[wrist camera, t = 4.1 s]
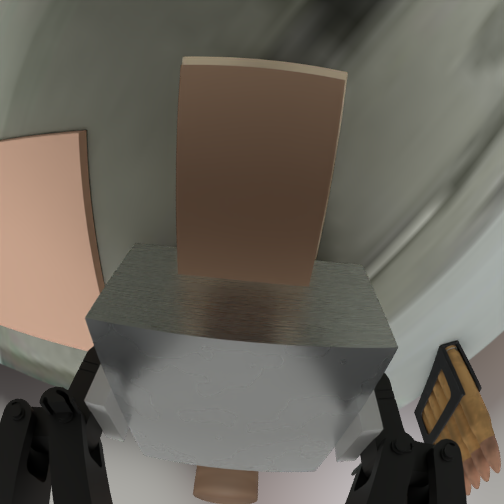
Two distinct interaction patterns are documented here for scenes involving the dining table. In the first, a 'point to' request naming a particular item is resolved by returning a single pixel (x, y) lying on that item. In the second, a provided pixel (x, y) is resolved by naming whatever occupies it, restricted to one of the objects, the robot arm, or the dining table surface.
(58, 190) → the mat
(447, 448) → the robot arm
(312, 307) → the brushed metal block
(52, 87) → the dining table surface
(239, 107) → the wooden peg stand
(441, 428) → the ammunition clip
